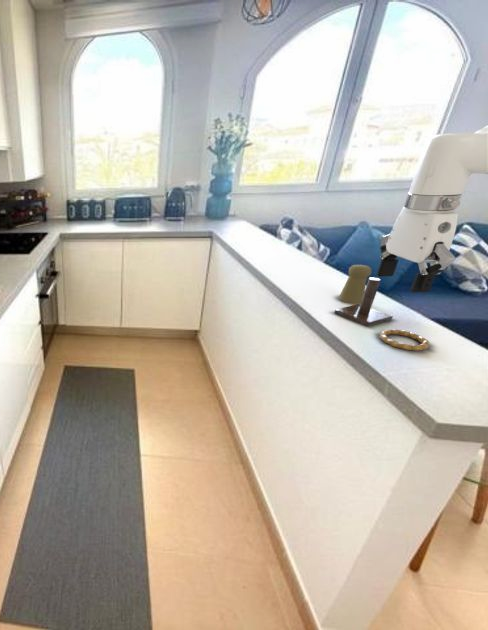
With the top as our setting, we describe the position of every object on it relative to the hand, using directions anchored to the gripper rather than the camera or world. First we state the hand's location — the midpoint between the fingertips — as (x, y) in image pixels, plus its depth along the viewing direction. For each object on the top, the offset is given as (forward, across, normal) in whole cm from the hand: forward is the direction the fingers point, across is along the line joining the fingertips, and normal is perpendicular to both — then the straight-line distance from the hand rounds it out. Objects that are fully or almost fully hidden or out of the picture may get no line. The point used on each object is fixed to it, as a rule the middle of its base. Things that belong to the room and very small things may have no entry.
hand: (400, 283), depth 76 cm
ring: (+16, +2, -7) cm, 17 cm away
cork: (+16, +27, -11) cm, 34 cm away
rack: (+16, +16, -7) cm, 24 cm away
